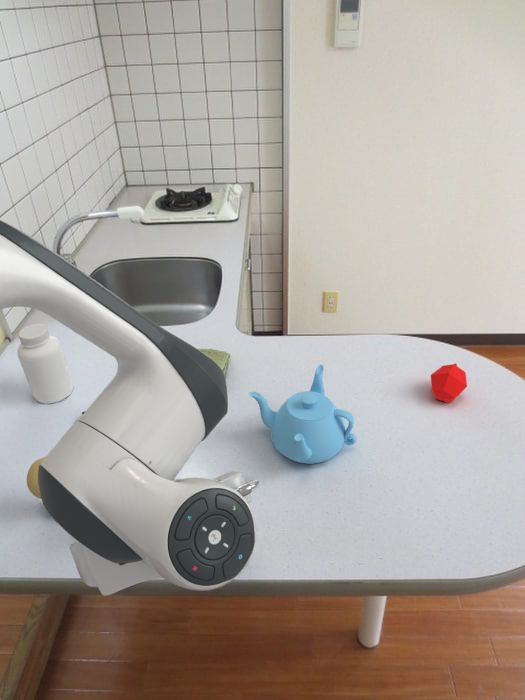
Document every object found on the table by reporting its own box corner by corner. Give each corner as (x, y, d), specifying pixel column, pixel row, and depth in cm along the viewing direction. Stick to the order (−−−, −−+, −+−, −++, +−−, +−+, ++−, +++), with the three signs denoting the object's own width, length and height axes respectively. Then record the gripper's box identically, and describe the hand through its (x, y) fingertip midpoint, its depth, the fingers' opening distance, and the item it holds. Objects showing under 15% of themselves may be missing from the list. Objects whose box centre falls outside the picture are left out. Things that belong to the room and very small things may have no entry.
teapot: (366, 453, 90) (371, 408, 84) (291, 488, 85) (291, 442, 79) (319, 405, 101) (321, 362, 95) (250, 433, 95) (247, 389, 90)
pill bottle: (34, 385, 110) (12, 324, 101) (74, 376, 112) (55, 316, 103) (32, 408, 103) (8, 346, 95) (74, 399, 105) (55, 337, 97)
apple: (458, 392, 95) (472, 358, 98) (421, 384, 99) (436, 352, 102) (463, 413, 99) (476, 380, 103) (428, 405, 103) (442, 373, 107)
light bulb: (38, 528, 80) (18, 484, 74) (41, 496, 85) (23, 452, 80) (81, 518, 81) (65, 474, 76) (82, 487, 86) (67, 443, 81)
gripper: (252, 454, 57) (220, 460, 70) (63, 540, 49) (64, 530, 62) (275, 509, 57) (238, 505, 69) (87, 606, 48) (83, 582, 61)
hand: (155, 518), depth 65 cm, fingers open, 8 cm apart
